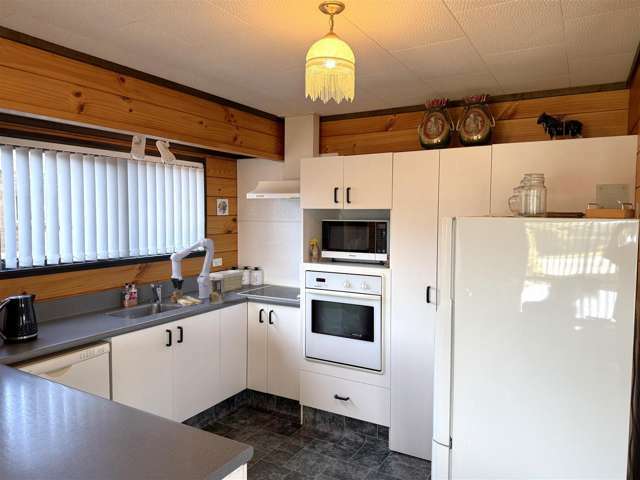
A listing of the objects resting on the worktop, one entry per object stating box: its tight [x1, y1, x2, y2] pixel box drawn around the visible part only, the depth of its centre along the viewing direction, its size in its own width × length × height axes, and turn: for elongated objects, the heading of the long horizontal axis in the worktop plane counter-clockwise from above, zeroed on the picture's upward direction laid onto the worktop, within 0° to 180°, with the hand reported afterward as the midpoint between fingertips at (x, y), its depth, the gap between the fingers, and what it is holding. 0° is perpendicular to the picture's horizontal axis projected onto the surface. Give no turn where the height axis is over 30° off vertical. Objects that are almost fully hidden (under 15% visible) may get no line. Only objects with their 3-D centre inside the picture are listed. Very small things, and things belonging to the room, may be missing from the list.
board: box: [176, 295, 204, 307], centre depth 317 cm, size 12×24×2 cm, turn 38°
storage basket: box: [209, 269, 244, 293], centre depth 363 cm, size 24×16×15 cm
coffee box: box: [208, 280, 226, 305], centre depth 311 cm, size 9×6×16 cm
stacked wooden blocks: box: [170, 290, 188, 304], centre depth 321 cm, size 10×5×7 cm, turn 128°
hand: (177, 288), depth 320 cm, fingers open, 7 cm apart
